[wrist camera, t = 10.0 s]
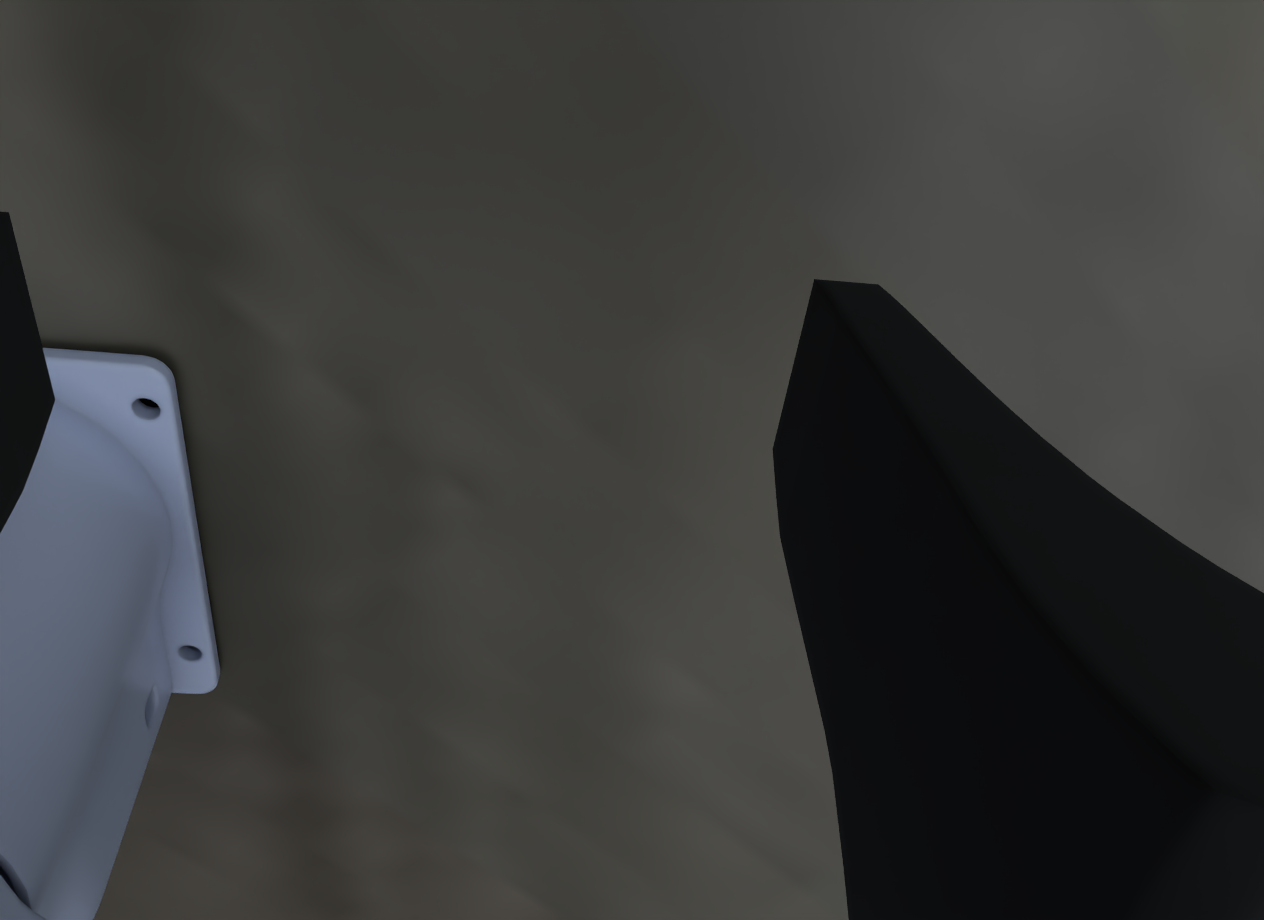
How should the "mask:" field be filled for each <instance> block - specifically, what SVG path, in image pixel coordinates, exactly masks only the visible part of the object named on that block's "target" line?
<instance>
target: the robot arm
mask: <svg viewBox="0 0 1264 920" xmlns="http://www.w3.org/2000/svg"><path fill="white" fill-rule="evenodd" d="M139 398H146V399H150V400H152V401H154V402H155V403H156V404H158V406H159V407H155V408H153V407H149V406H146V405H145V404H143V403H142V402H141V401H140V400H139ZM773 459H774V472H775V485H776V498H777V509H778V519H779V529H780V538H781V543H782V547H783V552H784V557H785V561H786V566H787V570H788V574H789V579H790V583H791V588H792V592H793V597H794V601H795V605H796V610H797V614H798V618H799V623H800V627H801V631H802V635H803V640H804V644H805V648H806V652H807V657H808V661H809V665H810V670H811V674H812V678H813V682H814V687H815V691H816V695H817V700H818V704H819V708H820V712H821V717H822V721H823V725H824V730H825V735H826V740H827V746H828V751H829V757H830V762H831V768H832V773H833V781H834V790H835V798H836V807H837V815H838V823H839V832H840V840H841V849H842V857H843V866H844V875H845V886H846V896H847V906H848V916H849V920H1264V593H1262V592H1261V591H1259V590H1257V589H1256V588H1254V587H1252V586H1250V585H1249V584H1247V583H1245V582H1244V581H1242V580H1240V579H1239V578H1237V577H1235V576H1234V575H1232V574H1230V573H1228V572H1227V571H1225V570H1223V569H1222V568H1220V567H1218V566H1217V565H1215V564H1214V563H1212V562H1211V561H1209V560H1207V559H1206V558H1204V557H1203V556H1201V555H1200V554H1198V553H1197V552H1195V551H1193V550H1192V549H1190V548H1189V547H1187V546H1186V545H1184V544H1183V543H1181V542H1180V541H1178V540H1177V539H1175V538H1174V537H1172V536H1171V535H1169V534H1168V533H1167V532H1165V531H1164V530H1162V529H1161V528H1160V527H1158V526H1157V525H1155V524H1154V523H1152V522H1151V521H1150V520H1148V519H1147V518H1145V517H1144V516H1142V515H1141V514H1140V513H1138V512H1137V511H1135V510H1134V509H1132V508H1131V507H1130V506H1128V505H1127V504H1125V503H1124V502H1123V501H1121V500H1120V499H1118V498H1117V497H1116V496H1114V495H1113V494H1112V493H1110V492H1109V491H1108V490H1106V489H1105V488H1104V487H1102V486H1101V485H1100V484H1099V483H1097V482H1096V481H1095V480H1093V479H1092V478H1091V477H1089V476H1088V475H1087V474H1086V473H1084V472H1083V471H1082V470H1081V469H1080V468H1078V467H1077V466H1076V465H1075V464H1074V463H1072V462H1071V461H1070V460H1069V459H1068V458H1066V457H1065V456H1064V455H1063V454H1062V453H1060V452H1059V451H1058V450H1057V449H1056V448H1054V447H1053V446H1052V445H1051V444H1049V443H1048V442H1047V441H1046V440H1045V439H1043V438H1042V437H1041V436H1040V435H1039V434H1037V433H1036V432H1035V431H1034V430H1033V429H1032V428H1031V427H1030V426H1028V425H1027V424H1026V423H1025V422H1024V421H1023V420H1022V419H1021V418H1019V417H1018V416H1017V415H1016V414H1015V413H1014V412H1013V411H1012V410H1010V409H1009V408H1008V407H1007V406H1006V405H1005V404H1004V403H1003V402H1002V401H1001V400H1000V399H998V398H997V397H996V396H995V395H994V394H993V393H992V392H991V391H990V390H989V389H988V388H987V387H986V386H985V385H984V384H982V383H981V382H980V381H979V380H978V379H977V378H976V377H975V376H974V375H973V374H972V373H971V372H970V371H969V370H968V369H967V368H966V367H965V366H964V365H963V364H962V363H961V362H959V361H958V360H957V359H956V358H955V357H954V356H953V355H952V354H951V353H950V352H949V351H948V350H947V349H946V348H945V347H944V346H943V345H942V344H941V343H940V342H939V341H938V340H937V339H936V338H935V337H934V336H933V335H932V334H931V333H930V332H929V331H928V330H927V329H926V328H925V327H924V326H923V325H922V324H921V323H920V322H919V321H918V320H917V319H916V318H915V317H914V316H912V315H911V314H910V313H909V312H908V311H907V310H906V309H905V308H904V307H903V306H902V305H901V304H900V303H899V302H898V301H897V300H896V299H895V298H893V297H892V296H891V295H890V294H889V293H888V292H887V291H885V290H884V289H883V288H882V287H881V286H879V285H878V284H866V283H854V282H841V281H829V280H817V279H814V283H813V287H812V291H811V295H810V299H809V303H808V307H807V311H806V315H805V319H804V324H803V328H802V332H801V336H800V340H799V344H798V348H797V352H796V356H795V360H794V364H793V368H792V373H791V377H790V381H789V385H788V389H787V393H786V397H785V401H784V405H783V409H782V413H781V418H780V422H779V426H778V430H777V434H776V438H775V442H774V446H773ZM188 645H189V646H188ZM190 646H194V647H190ZM195 647H196V648H195ZM219 677H220V665H219V658H218V652H217V646H216V639H215V633H214V626H213V620H212V614H211V607H210V601H209V595H208V588H207V582H206V575H205V569H204V563H203V556H202V550H201V543H200V537H199V531H198V524H197V518H196V512H195V505H194V499H193V492H192V486H191V480H190V473H189V467H188V461H187V454H186V448H185V441H184V435H183V429H182V422H181V416H180V409H179V403H178V397H177V390H176V384H175V378H174V376H173V374H172V371H171V370H170V369H169V368H168V367H167V366H166V365H165V363H163V362H161V361H159V360H158V359H156V358H153V357H149V356H144V355H133V354H120V353H107V352H94V351H81V350H68V349H55V348H42V344H41V340H40V336H39V332H38V328H37V324H36V320H35V316H34V312H33V308H32V304H31V300H30V296H29V292H28V288H27V284H26V280H25V276H24V272H23V268H22V264H21V260H20V256H19V252H18V248H17V243H16V239H15V235H14V231H13V227H12V223H11V219H10V215H9V212H0V920H93V919H94V916H95V914H96V912H97V910H98V908H99V905H100V903H101V900H102V897H103V894H104V891H105V888H106V885H107V882H108V879H109V876H110V873H111V870H112V868H113V865H114V862H115V859H116V856H117V853H118V850H119V847H120V844H121V841H122V838H123V835H124V832H125V829H126V826H127V823H128V820H129V817H130V814H131V811H132V808H133V805H134V802H135V799H136V796H137V793H138V790H139V787H140V784H141V781H142V778H143V775H144V773H145V770H146V767H147V764H148V761H149V758H150V755H151V752H152V749H153V746H154V743H155V740H156V737H157V734H158V731H159V728H160V725H161V722H162V719H163V716H164V713H165V710H166V707H167V704H168V701H169V698H170V695H171V693H188V694H203V693H207V692H210V691H212V690H213V689H214V688H215V687H216V686H217V683H218V680H219Z"/></svg>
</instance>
